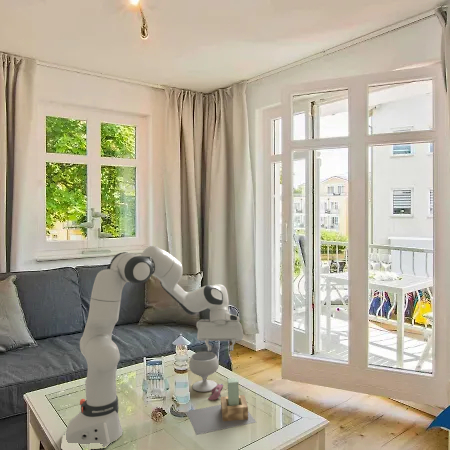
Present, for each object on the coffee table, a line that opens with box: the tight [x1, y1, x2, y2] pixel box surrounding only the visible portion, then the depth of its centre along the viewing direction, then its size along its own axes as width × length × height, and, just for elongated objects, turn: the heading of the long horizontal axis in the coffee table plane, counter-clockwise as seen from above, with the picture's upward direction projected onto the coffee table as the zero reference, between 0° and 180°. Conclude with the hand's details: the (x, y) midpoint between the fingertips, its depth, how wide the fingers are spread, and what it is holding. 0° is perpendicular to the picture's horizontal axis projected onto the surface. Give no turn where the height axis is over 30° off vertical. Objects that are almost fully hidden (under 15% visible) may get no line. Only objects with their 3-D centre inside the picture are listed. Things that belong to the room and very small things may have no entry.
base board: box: [186, 404, 257, 436], centre depth 164 cm, size 24×18×2 cm
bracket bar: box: [226, 377, 240, 406], centre depth 166 cm, size 4×4×14 cm
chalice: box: [188, 350, 220, 393], centre depth 194 cm, size 14×14×15 cm
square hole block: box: [220, 394, 249, 421], centre depth 166 cm, size 10×10×5 cm
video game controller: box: [207, 383, 224, 401], centre depth 183 cm, size 10×5×7 cm, turn 170°
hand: (220, 350), depth 175 cm, fingers open, 8 cm apart
